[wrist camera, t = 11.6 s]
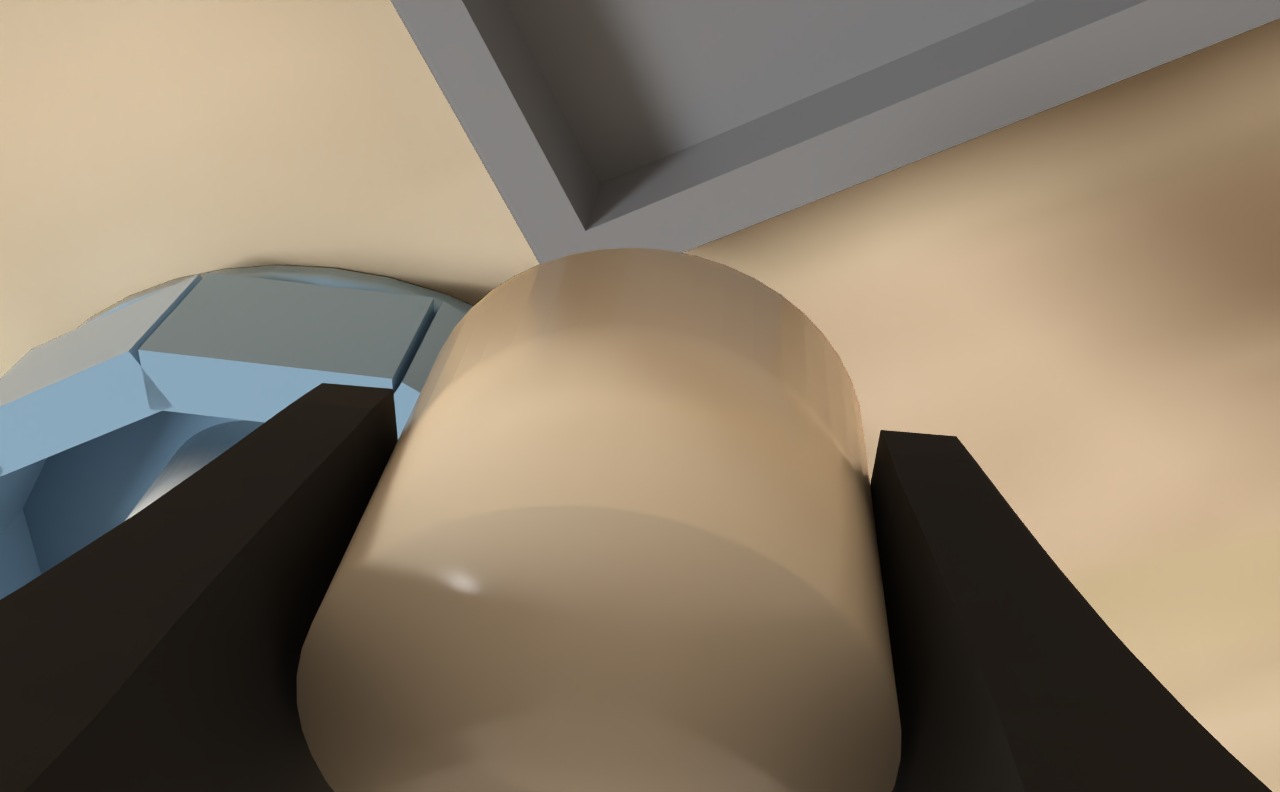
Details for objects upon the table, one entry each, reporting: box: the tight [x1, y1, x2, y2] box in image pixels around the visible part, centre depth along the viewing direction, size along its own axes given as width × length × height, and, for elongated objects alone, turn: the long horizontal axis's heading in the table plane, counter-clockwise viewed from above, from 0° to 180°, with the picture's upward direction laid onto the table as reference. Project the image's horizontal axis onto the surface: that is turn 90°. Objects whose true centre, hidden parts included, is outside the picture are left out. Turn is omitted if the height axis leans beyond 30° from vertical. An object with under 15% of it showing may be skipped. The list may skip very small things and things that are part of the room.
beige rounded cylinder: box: [297, 248, 901, 792], centre depth 9 cm, size 4×4×3 cm
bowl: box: [0, 265, 473, 600], centre depth 21 cm, size 14×14×3 cm
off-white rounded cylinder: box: [125, 420, 265, 521], centre depth 19 cm, size 4×4×3 cm
